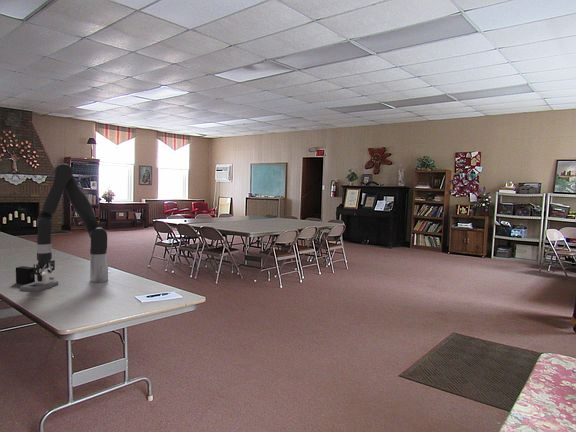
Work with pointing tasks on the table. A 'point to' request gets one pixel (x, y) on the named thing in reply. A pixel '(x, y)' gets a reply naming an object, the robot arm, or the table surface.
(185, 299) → the table surface
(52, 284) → the socket plate
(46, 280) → the plug
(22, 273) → the electronic device
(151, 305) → the table surface
